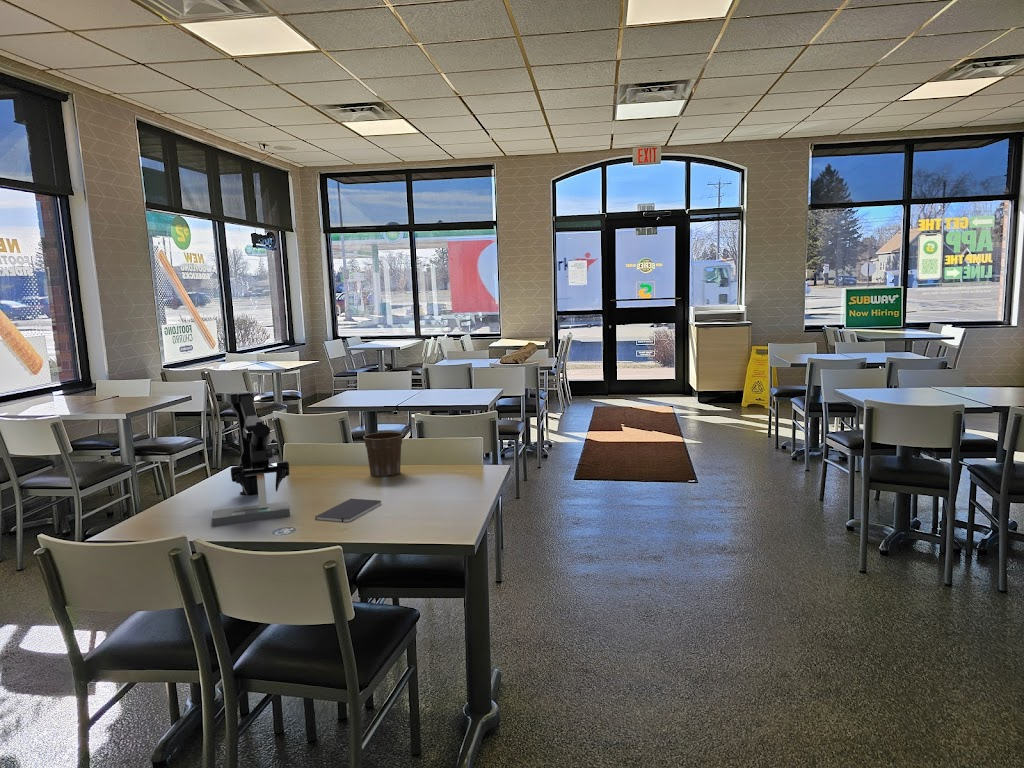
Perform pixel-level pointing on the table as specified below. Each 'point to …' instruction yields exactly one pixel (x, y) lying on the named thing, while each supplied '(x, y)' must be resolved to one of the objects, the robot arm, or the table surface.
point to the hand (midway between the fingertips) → (262, 492)
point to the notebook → (348, 510)
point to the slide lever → (261, 491)
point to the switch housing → (250, 513)
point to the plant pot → (384, 453)
